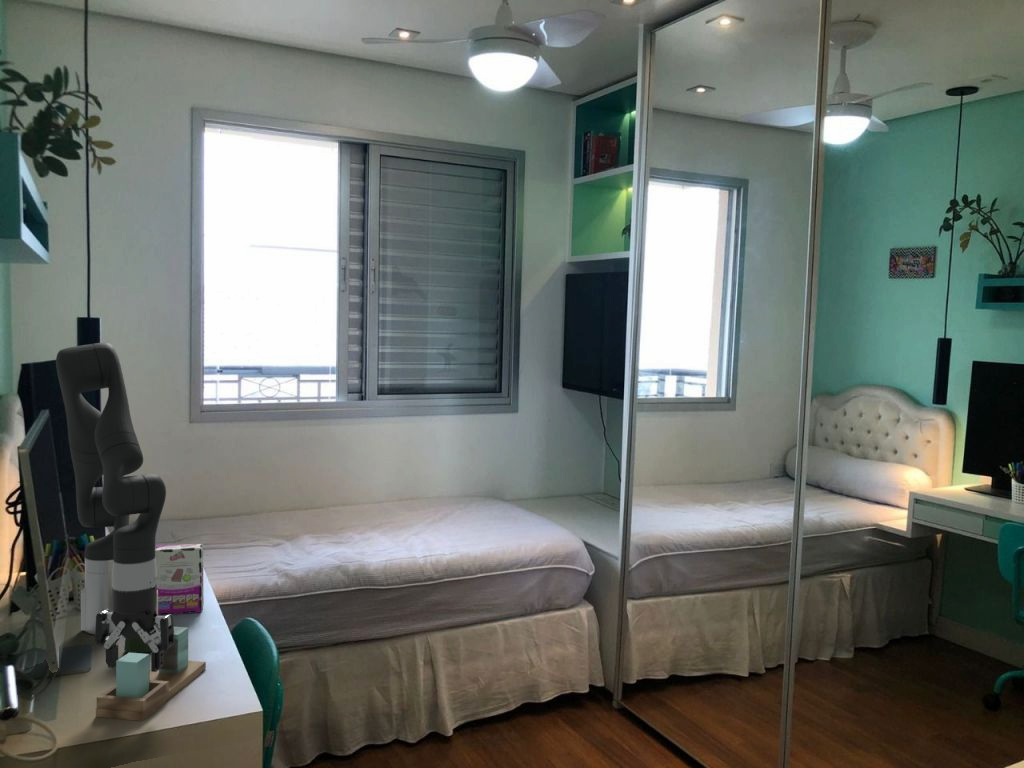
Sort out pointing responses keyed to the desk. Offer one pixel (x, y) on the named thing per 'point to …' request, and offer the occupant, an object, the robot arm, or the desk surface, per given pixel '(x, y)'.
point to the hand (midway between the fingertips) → (134, 668)
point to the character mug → (138, 641)
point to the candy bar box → (179, 578)
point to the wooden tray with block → (154, 684)
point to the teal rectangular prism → (133, 675)
